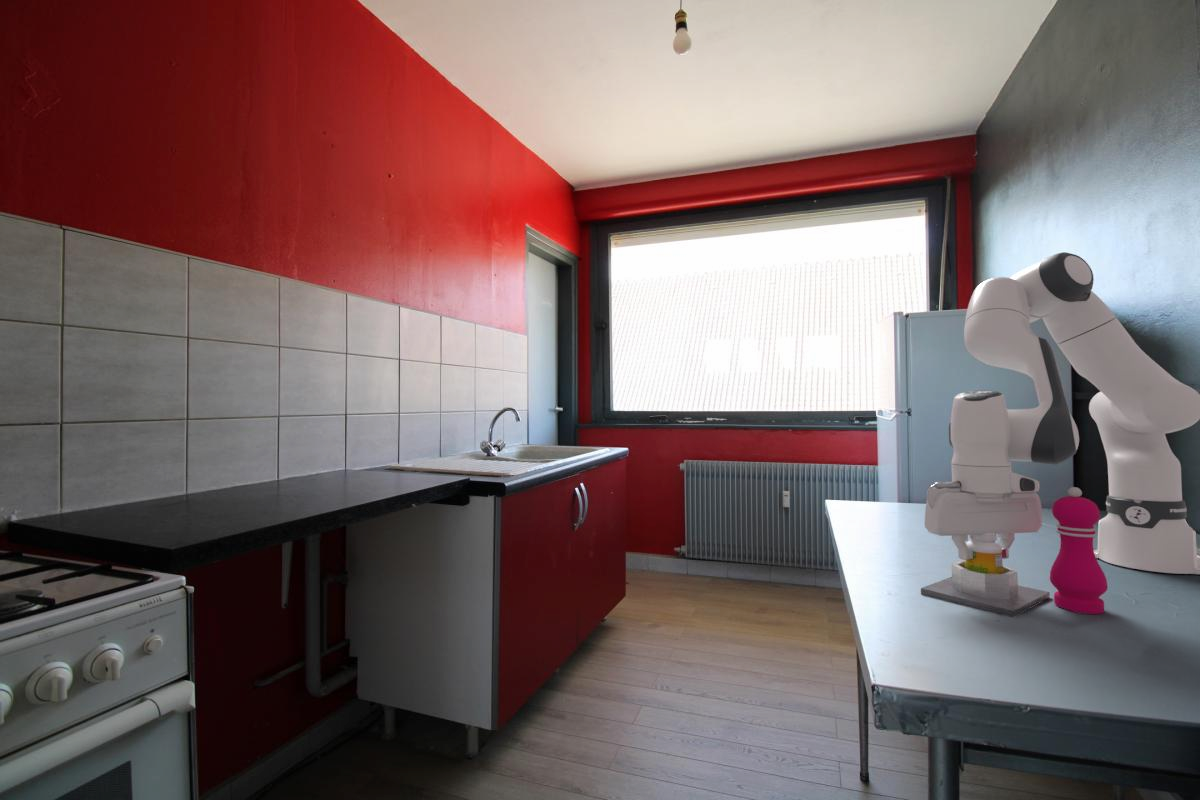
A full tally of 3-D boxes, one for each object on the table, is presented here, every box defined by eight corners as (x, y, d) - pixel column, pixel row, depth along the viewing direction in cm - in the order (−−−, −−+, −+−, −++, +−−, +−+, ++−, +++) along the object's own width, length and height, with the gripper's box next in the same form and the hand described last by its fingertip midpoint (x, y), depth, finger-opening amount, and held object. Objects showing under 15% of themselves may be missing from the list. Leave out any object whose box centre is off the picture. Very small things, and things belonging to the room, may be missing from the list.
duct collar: (960, 578, 107) (960, 552, 107) (1049, 597, 95) (1048, 569, 95) (920, 593, 98) (920, 565, 98) (1013, 617, 86) (1012, 585, 86)
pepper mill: (1120, 617, 86) (1115, 490, 86) (1067, 614, 87) (1063, 489, 88) (1089, 601, 93) (1085, 484, 94) (1041, 599, 94) (1037, 484, 95)
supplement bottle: (960, 584, 97) (958, 530, 98) (976, 579, 100) (973, 526, 100) (994, 592, 93) (991, 535, 93) (1009, 587, 95) (1007, 531, 96)
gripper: (940, 484, 93) (942, 565, 92) (1048, 481, 95) (1051, 561, 95) (915, 480, 99) (917, 556, 99) (1016, 477, 101) (1019, 552, 101)
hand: (983, 558), depth 97 cm, fingers closed on supplement bottle, 5 cm apart
